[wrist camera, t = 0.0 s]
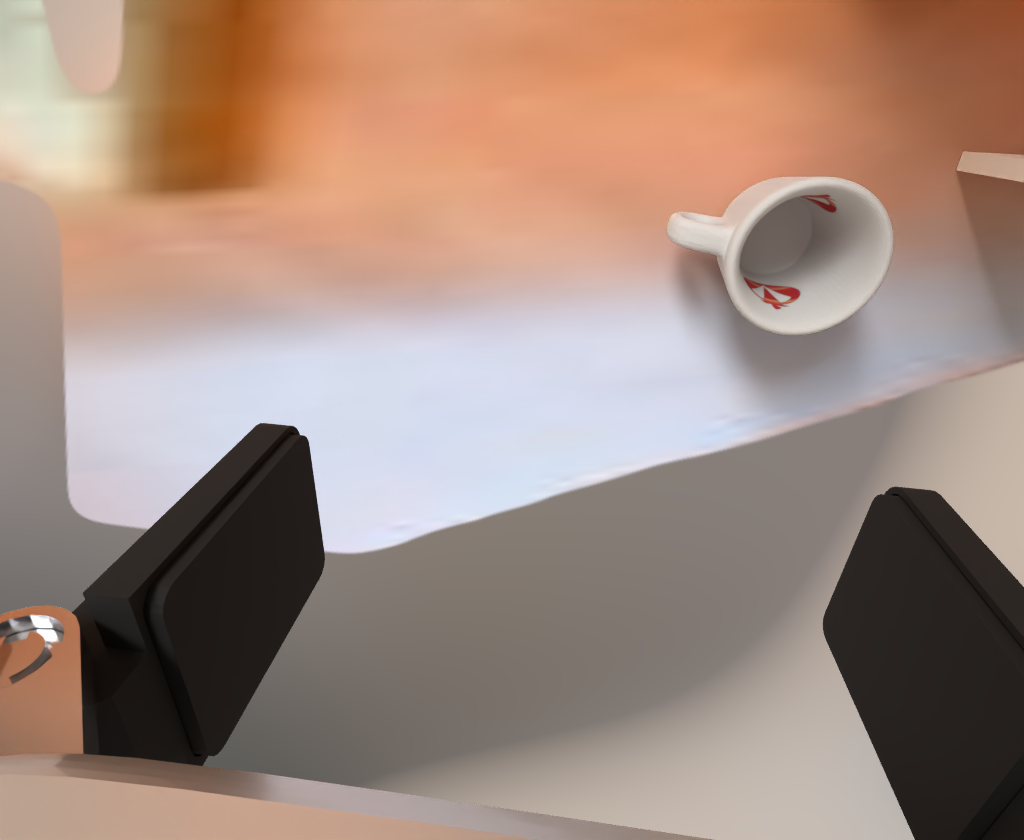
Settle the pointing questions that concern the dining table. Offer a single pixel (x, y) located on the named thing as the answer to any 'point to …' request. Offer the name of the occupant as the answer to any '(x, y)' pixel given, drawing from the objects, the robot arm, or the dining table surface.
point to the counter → (993, 165)
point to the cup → (795, 250)
